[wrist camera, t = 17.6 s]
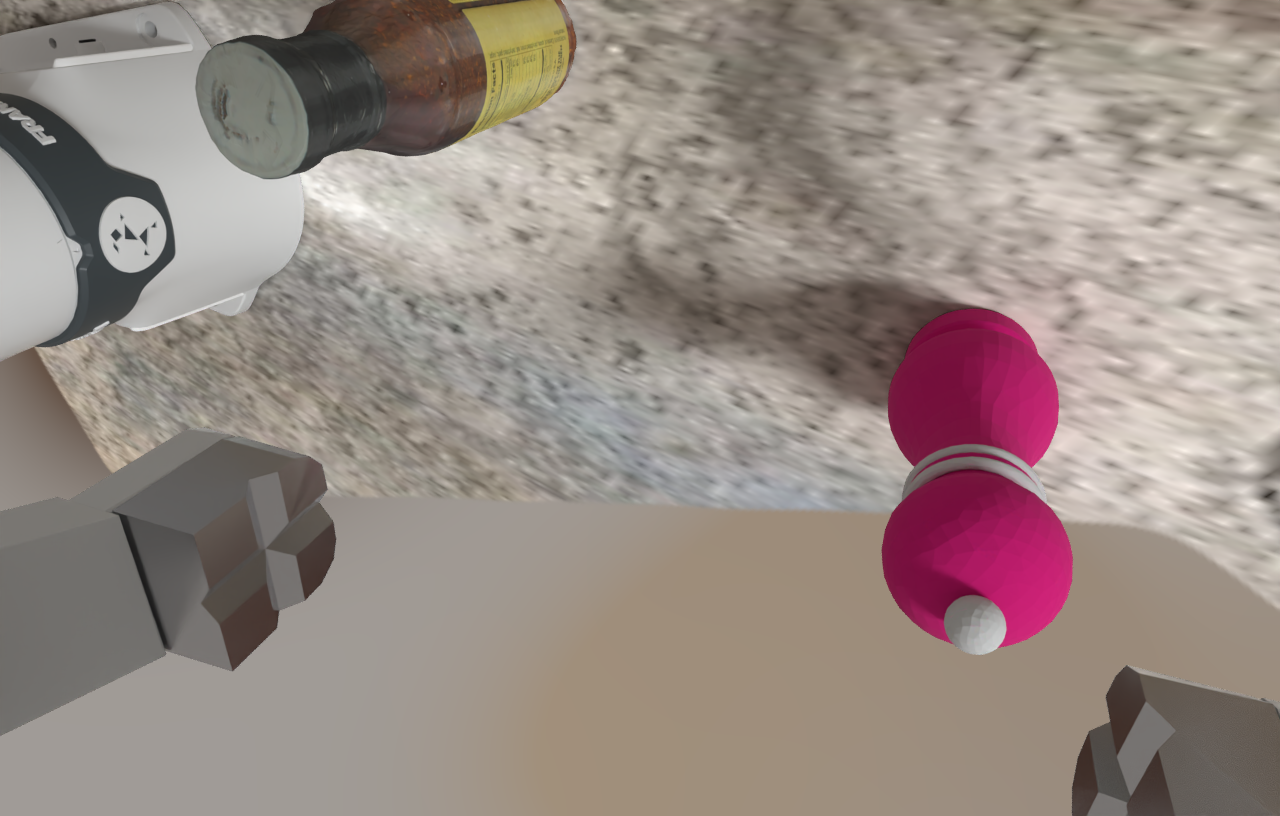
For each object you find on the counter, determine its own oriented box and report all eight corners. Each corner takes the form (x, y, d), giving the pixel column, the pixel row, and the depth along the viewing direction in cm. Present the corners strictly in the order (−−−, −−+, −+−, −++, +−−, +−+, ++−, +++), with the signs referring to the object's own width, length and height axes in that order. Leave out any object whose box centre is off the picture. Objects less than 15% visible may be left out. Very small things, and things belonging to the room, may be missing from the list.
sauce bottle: (447, 34, 42) (115, 85, 25) (522, -62, 38) (195, -76, 22) (532, 137, 43) (266, 249, 26) (613, 52, 40) (364, 120, 23)
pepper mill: (964, 454, 43) (966, 764, 27) (864, 364, 43) (802, 622, 26) (1084, 368, 39) (1175, 670, 23) (975, 267, 39) (985, 500, 22)
